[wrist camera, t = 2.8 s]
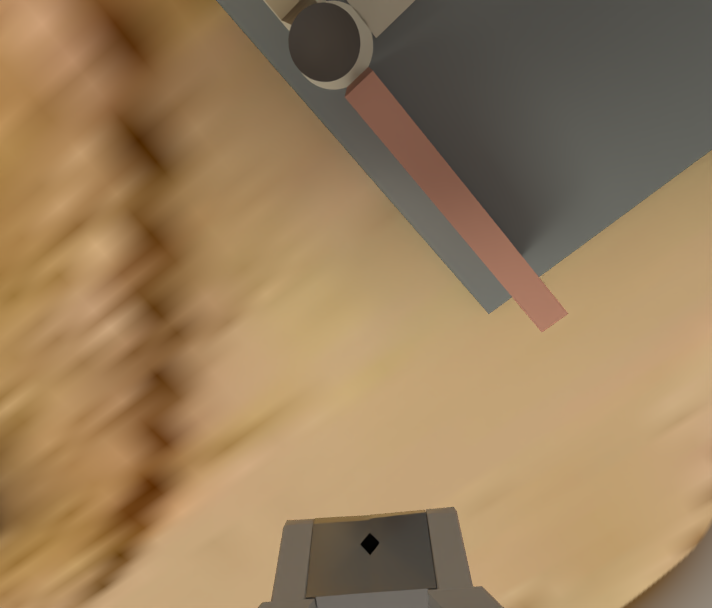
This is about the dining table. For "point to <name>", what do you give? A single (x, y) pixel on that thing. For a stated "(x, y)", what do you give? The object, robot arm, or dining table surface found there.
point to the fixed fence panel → (319, 37)
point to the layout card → (520, 110)
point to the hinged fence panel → (452, 197)
